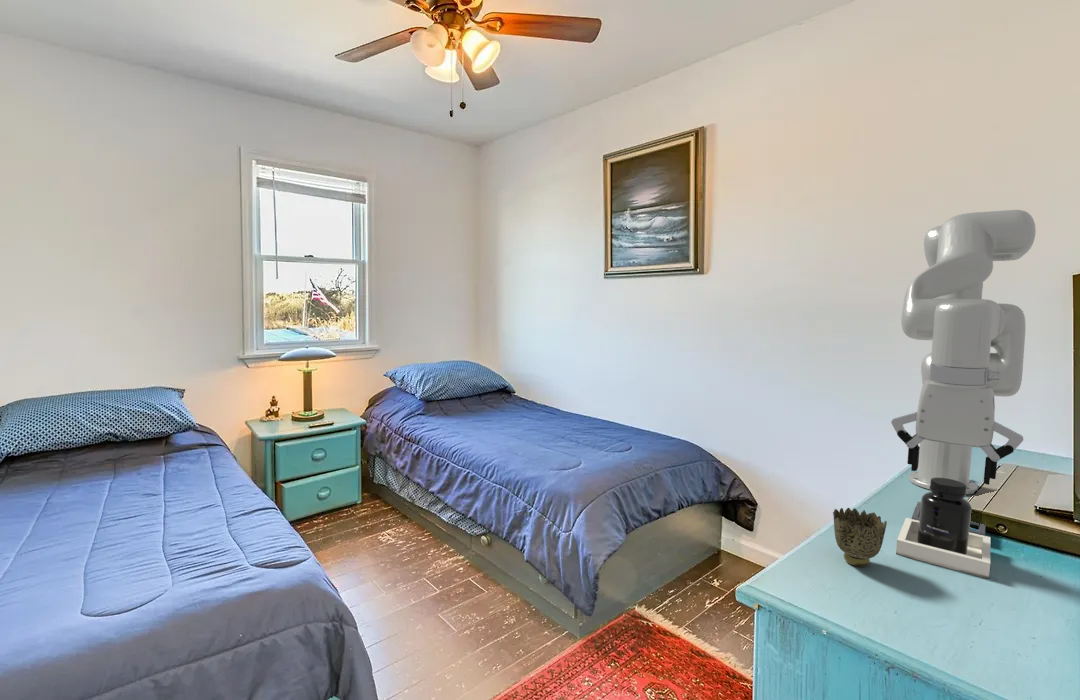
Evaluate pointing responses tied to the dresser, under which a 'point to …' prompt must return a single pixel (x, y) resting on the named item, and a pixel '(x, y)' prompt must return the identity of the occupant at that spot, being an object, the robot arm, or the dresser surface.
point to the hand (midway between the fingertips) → (949, 475)
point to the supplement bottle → (945, 516)
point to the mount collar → (981, 527)
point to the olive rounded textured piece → (858, 535)
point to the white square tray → (946, 551)
